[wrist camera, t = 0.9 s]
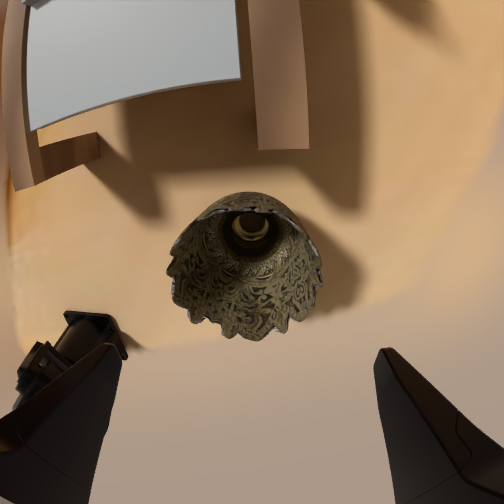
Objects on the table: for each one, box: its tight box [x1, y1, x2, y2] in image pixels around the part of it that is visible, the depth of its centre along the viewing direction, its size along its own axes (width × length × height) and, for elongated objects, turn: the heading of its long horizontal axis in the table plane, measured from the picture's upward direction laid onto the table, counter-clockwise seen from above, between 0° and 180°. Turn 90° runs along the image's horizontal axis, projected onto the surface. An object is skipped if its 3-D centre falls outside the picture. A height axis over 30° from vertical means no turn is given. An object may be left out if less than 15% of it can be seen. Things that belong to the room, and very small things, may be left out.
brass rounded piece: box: [166, 192, 323, 341], centre depth 17 cm, size 8×7×8 cm
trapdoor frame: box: [1, 0, 309, 192], centre depth 10 cm, size 16×17×8 cm
